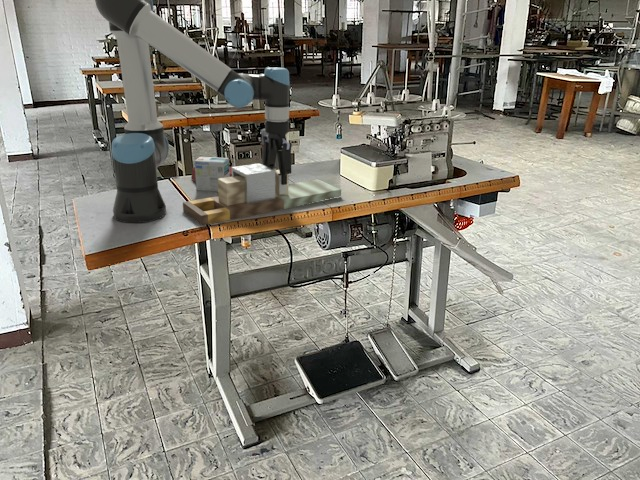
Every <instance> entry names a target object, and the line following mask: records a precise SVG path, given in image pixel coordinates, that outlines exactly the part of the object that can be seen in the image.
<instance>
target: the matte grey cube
mask: <svg viewBox="0 0 640 480" xmlns="http://www.w3.org/2000/svg"><path fill="white" fill-rule="evenodd" d="M231 167H232V177H233V176H239V175H242V176H244V177H245V191H246V204H247V205H248V204H253V203H259V202H264V201H270V200H275V170H273V169H271V168H269V167H266V166H264V165H262V163H251V164H245V165H238V166H231Z"/></svg>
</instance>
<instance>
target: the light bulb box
mask: <svg viewBox="0 0 640 480" xmlns="http://www.w3.org/2000/svg"><path fill="white" fill-rule="evenodd" d="M229 158H230V157H217V156H216V157H213V156H199V157H197V159H195V160H194V167H195V176H196V182H195V187H196V189H195V190H196V191H203V192H205V191H206V192H218V179H219V178H226V177H230V172H229V167H230V159H229Z"/></svg>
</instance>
